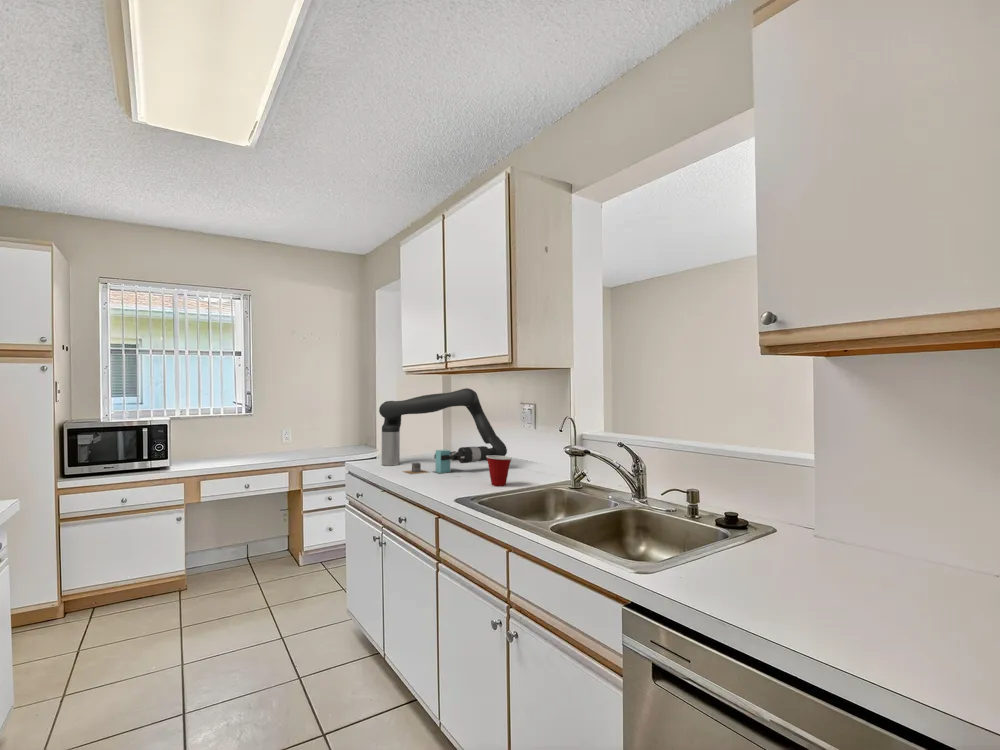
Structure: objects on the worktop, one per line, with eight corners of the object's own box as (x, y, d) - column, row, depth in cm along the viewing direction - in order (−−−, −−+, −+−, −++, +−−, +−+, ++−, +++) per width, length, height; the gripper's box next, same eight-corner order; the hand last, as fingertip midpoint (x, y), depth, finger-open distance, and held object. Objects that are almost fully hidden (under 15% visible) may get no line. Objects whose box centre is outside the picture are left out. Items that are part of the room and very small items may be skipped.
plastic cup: (516, 486, 210) (516, 457, 211) (490, 488, 207) (490, 458, 207) (507, 482, 221) (507, 453, 221) (482, 483, 217) (482, 454, 218)
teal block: (435, 471, 242) (435, 450, 242) (445, 470, 245) (445, 449, 245) (440, 473, 238) (440, 451, 238) (450, 472, 241) (450, 450, 241)
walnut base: (401, 473, 243) (401, 462, 243) (421, 471, 249) (421, 461, 249) (410, 476, 235) (410, 465, 235) (430, 474, 241) (430, 463, 241)
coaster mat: (431, 473, 242) (431, 471, 242) (446, 472, 247) (446, 470, 247) (439, 476, 236) (439, 473, 236) (454, 474, 240) (454, 472, 240)
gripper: (461, 445, 256) (430, 447, 246) (477, 448, 244) (445, 450, 234) (461, 460, 255) (430, 463, 246) (477, 464, 244) (445, 467, 234)
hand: (438, 457), depth 240 cm, fingers open, 6 cm apart
